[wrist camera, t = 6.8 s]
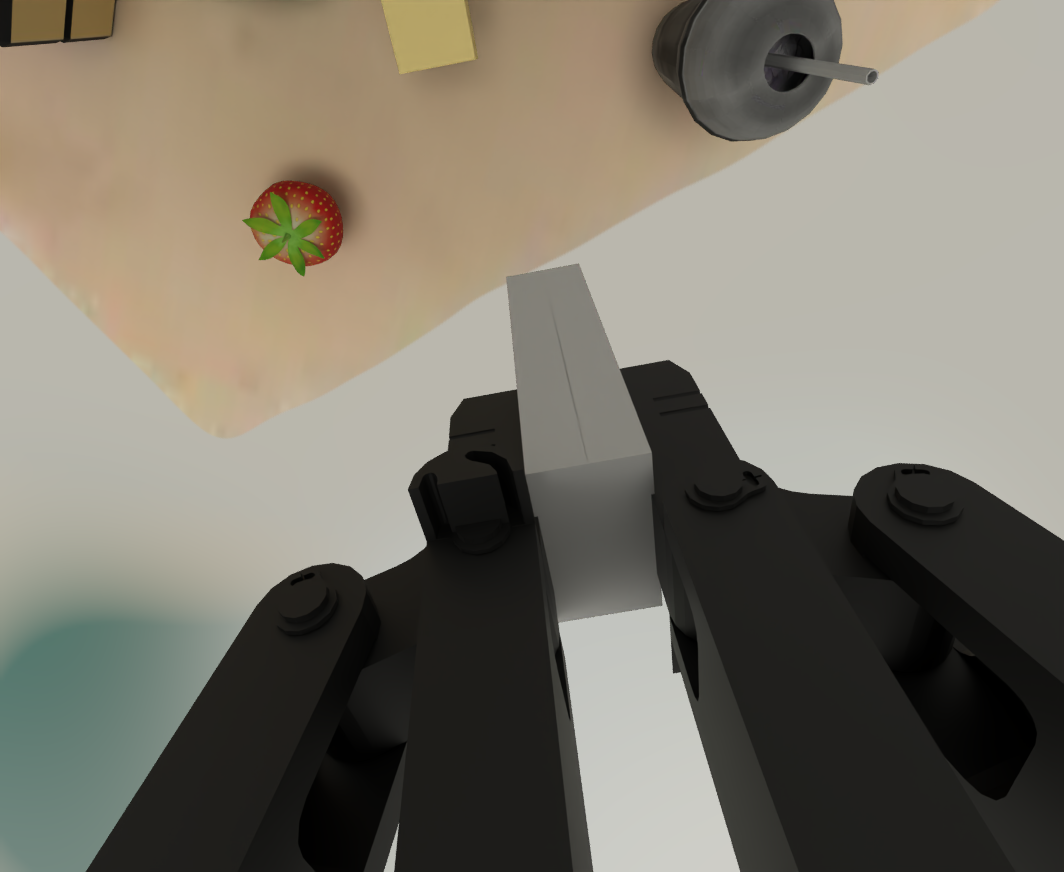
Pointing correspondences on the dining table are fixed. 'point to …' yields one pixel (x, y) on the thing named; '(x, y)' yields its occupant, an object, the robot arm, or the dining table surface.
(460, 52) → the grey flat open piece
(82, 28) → the puzzle cube
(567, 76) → the dining table surface
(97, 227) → the dining table surface
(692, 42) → the beverage cup
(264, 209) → the fruit
